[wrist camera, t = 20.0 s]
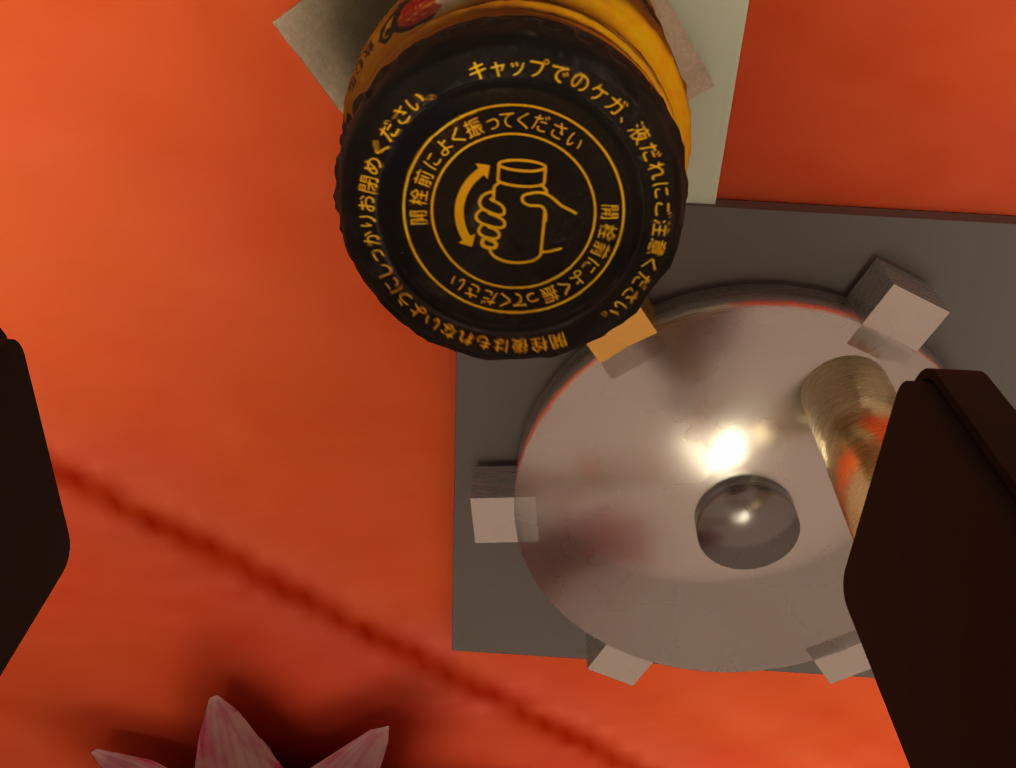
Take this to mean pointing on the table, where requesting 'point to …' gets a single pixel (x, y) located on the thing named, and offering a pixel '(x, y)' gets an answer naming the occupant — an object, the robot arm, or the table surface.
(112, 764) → the decorative flower
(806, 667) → the sprocket base
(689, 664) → the sprocket
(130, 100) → the table surface
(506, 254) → the condiment
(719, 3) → the mat
